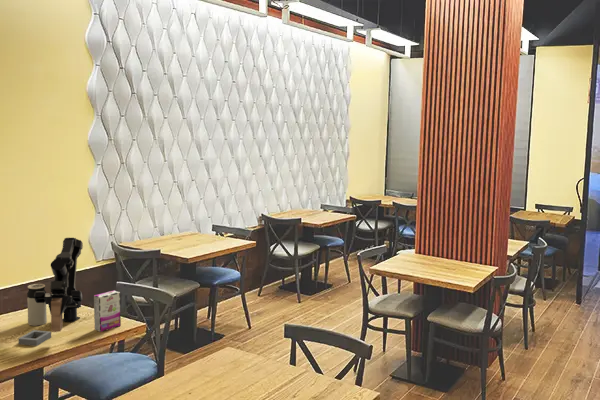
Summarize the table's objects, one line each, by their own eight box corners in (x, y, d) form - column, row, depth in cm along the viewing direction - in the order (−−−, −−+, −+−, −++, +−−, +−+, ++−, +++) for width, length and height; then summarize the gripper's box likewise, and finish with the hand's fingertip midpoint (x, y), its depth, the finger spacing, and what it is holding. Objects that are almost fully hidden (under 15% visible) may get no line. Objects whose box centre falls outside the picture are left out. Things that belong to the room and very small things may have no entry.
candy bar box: (114, 323, 274) (114, 290, 272) (121, 326, 271) (120, 292, 269) (93, 329, 265) (93, 294, 263) (100, 332, 262) (99, 297, 260)
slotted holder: (33, 335, 256) (33, 330, 255) (51, 337, 254) (51, 331, 254) (18, 344, 245) (18, 338, 245) (36, 345, 244) (36, 340, 244)
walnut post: (53, 327, 249) (53, 298, 247) (62, 327, 249) (62, 298, 248) (51, 331, 244) (50, 301, 242) (60, 331, 244) (59, 301, 243)
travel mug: (50, 320, 275) (49, 284, 273) (40, 326, 267) (40, 288, 265) (34, 319, 276) (33, 283, 273) (24, 325, 268) (23, 287, 266)
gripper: (34, 273, 245) (28, 306, 236) (80, 272, 249) (77, 304, 240) (39, 286, 254) (33, 318, 245) (83, 284, 258) (80, 317, 249)
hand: (56, 314), depth 244 cm, fingers closed on walnut post, 3 cm apart
